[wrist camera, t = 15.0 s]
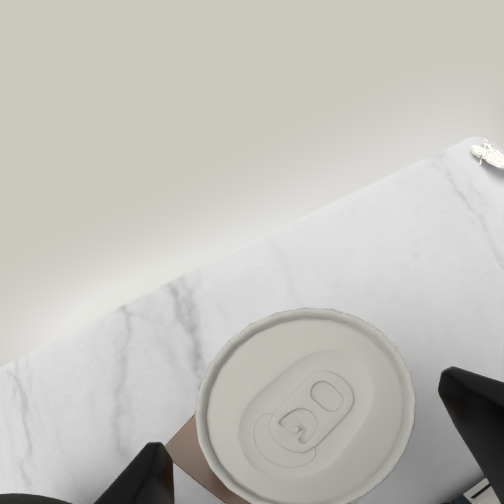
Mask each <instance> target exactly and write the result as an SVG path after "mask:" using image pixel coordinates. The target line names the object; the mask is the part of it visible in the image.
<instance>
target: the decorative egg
mask: <svg viewBox="0 0 504 504" xmlns="http://www.w3.org/2000/svg"><path fill="white" fill-rule="evenodd" d="M0 504H72V503H69V502H66V501H62V500H59V499H55V498H50V497H45V496H40V495H31V494H17V493H11V494H0Z"/></svg>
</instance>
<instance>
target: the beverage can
mask: <svg viewBox="0 0 504 504" xmlns="http://www.w3.org/2000/svg"><path fill="white" fill-rule="evenodd" d="M415 400H416V398H415V393H414V388H413V383H412V379H411V374H410V372H409V370H408V368H407V366H406V364H405V362H404V360H403V358H402V356H401V355H400V353H399V351H398V349H397V348H396V347H395V346H394V345H393V344H392V343H391V342H390V341H389V340H388V339H387V338H386V337H385V336H384V335H383V333H382V332H381V331H379V330H378V329H376V328H374V327H373V326H371V325H369V324H368V323H366V322H365V321H363V320H361V319H360V318H358V317H355V316H352V315H349V314H345V313H342V312H339V311H336V310H332V309H316V308H301V309H295V310H290V311H284V312H278V313H275V314H273V315H271V316H268V317H266V318H264V319H262V320H259V321H257V322H255V323H252V324H250V325H249V326H248V327H246V328H245V329H244V330H243V331H241V332H240V333H239V334H237V335H236V336H235V337H233V338H232V339H231V340H229V341H228V342H227V343H226V345H225V346H224V347H223V348H222V350H221V351H220V352H219V353H218V355H217V356H216V357H215V358H214V360H213V361H212V362H211V364H210V366H209V368H208V370H207V372H206V375H205V377H204V379H203V381H202V384H201V386H200V388H199V393H198V400H197V407H196V414H195V418H196V426H197V433H198V441H199V444H200V447H201V449H202V451H203V453H204V456H205V458H206V460H207V462H208V464H209V466H210V468H211V469H212V471H213V472H214V473H215V474H216V475H217V476H218V478H219V479H220V480H221V481H222V482H223V483H224V484H225V486H226V487H227V488H228V489H229V490H231V491H232V492H234V493H235V494H237V495H238V496H240V497H242V498H243V499H245V500H246V501H248V502H250V503H251V504H349V503H351V502H353V501H355V500H357V499H358V498H360V497H362V496H364V495H366V494H367V493H369V492H370V491H371V490H372V489H373V488H375V487H376V486H377V485H378V484H379V483H380V482H381V481H383V480H384V479H385V478H386V477H387V476H388V475H389V474H390V472H391V471H392V470H393V468H394V467H395V465H396V464H397V462H398V461H399V459H400V458H401V456H402V455H403V453H404V452H405V449H406V447H407V444H408V441H409V438H410V435H411V432H412V429H413V426H414V417H415Z"/></svg>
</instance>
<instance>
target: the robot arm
mask: <svg viewBox="0 0 504 504" xmlns="http://www.w3.org/2000/svg"><path fill="white" fill-rule="evenodd" d="M438 393H439V395H440V397H441V399H442V401H443V403H444V405H445V407H446V409H447V411H448V413H449V415H450V417H451V419H452V421H453V423H454V425H455V427H456V429H457V430H458V432H459V434H460V435H461V437H462V438H463V440H464V442H465V443H466V445H467V446H468V448H469V450H470V451H471V453H472V454H473V456H474V458H475V459H476V461H477V463H478V464H479V466H480V468H481V469H482V471H483V473H484V475H485V476H486V478H487V480H488V482H489V483H490V485H491V487H492V489H493V490H494V492H495V494H496V496H497V498H498V500H499V501H500V503H501V504H504V382H500V381H497V380H494V379H491V378H488V377H485V376H482V375H478V374H475V373H472V372H469V371H466V370H463V369H460V368H457V367H454V366H452V367H449V368H447V369H445V370H443V371H442V373H441V377H440V382H439V387H438ZM94 504H174V482H173V461H172V458H171V456H170V454H169V453H168V451H167V450H166V448H165V447H164V445H163V444H162V443H161V442H149V443H147V444H146V445H145V447H144V448H143V449H142V450H141V451H140V452H139V454H138V455H137V456H136V457H135V458H134V459H133V461H132V462H131V463H130V464H129V465H128V466H127V467H126V469H125V470H124V471H123V472H122V473H121V474H120V475H119V476H118V478H117V479H116V480H115V481H114V482H113V483H112V484H111V485H110V486H109V488H108V489H107V490H106V491H105V492H104V493H103V494H102V495H101V496H100V497H99V499H98V500H97V501H96V502H95V503H94Z"/></svg>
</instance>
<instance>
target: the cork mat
mask: <svg viewBox="0 0 504 504" xmlns="http://www.w3.org/2000/svg"><path fill="white" fill-rule="evenodd" d="M195 414H196V413H195ZM195 414H194V415H193V416H192V417H191V419H190V420H189V421H188V422H187V423H186V424H185V425H184V426H183V427H182V428H181V429H180V431H179V432H178V433H177V434H176V435H175V436H174V437H173V438H172V439H171V440H170V441H169V442H168V443H167V444H166V445H165V446H164V447H165V448H166V450H167V451H168V453H169V454H170V456H171V458H172V461H173V462H174V463H175V464H176V465H178V466H179V467H180V468H181V469H182V470H183V471H185V472H186V473H187V474H188V475H189V476H191V477H192V478H193V479H194V480H196V481H197V482H198V483H199V484H201V485H202V486H203V487H204V488H206V489H207V490H208V491H210V492H211V493H212V494H214V495H215V496H216V497H218V498H219V499H221V500H222V501H223V502H225V503H226V504H251V503H250V502H248V501H246V500H245V499H243V498H242V497H240V496H238V495H237V494H235V493H234V492H232V491H231V490H229V489H228V488H227V487H226V486H225V484H224V483H223V482H222V481H221V480H220V479H219V478H218V476H217V475H216V474H215V473H214V472H213V471H212V469H211V468H210V466H209V464H208V462H207V460H206V458H205V456H204V453H203V451H202V449H201V447H200V444H199V441H198V433H197V426H196V418H195Z"/></svg>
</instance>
